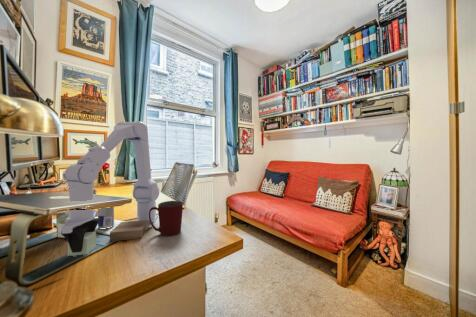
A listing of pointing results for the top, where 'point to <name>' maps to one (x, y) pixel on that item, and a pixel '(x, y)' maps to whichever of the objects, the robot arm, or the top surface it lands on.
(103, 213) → the energy drink
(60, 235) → the syrup box
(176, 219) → the mug
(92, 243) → the sage block
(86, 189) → the robot arm
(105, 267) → the top surface
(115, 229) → the walnut base
